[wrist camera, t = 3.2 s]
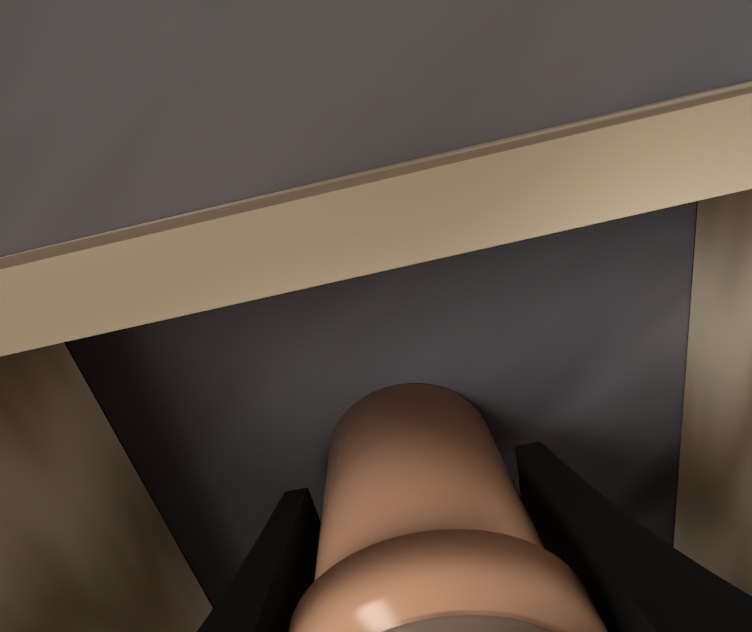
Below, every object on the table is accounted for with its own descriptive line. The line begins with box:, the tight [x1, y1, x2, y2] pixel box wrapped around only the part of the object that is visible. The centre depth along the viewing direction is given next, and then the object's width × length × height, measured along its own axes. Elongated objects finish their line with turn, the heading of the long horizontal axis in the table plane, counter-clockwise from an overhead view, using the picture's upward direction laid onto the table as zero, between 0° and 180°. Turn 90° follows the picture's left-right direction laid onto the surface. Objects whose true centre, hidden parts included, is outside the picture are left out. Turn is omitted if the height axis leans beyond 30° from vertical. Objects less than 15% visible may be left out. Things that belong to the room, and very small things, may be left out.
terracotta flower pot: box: [288, 383, 608, 632], centre depth 9 cm, size 6×6×6 cm
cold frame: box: [0, 80, 752, 632], centre depth 9 cm, size 16×18×6 cm
